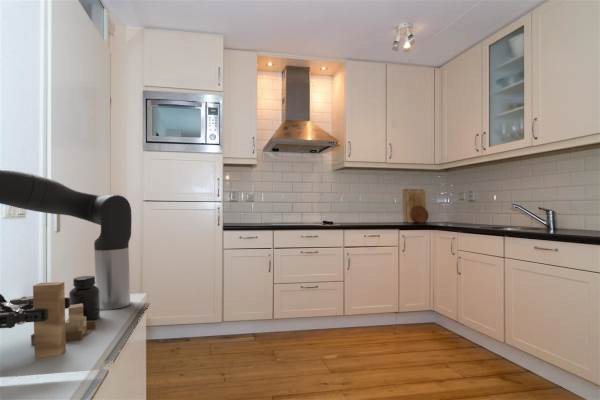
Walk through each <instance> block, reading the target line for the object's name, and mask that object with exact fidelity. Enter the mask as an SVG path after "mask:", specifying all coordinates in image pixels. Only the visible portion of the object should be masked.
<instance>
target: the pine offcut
mask: <svg viewBox="0 0 600 400" xmlns="http://www.w3.org/2000/svg"><path fill="white" fill-rule="evenodd" d="M68 331H82V332H83V334H84V333H86V332H87V328H86V317H84V320H79V321H73V322H69V318H68V319H67V320H66V319H65V332H68Z"/></svg>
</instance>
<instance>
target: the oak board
mask: <svg viewBox="0 0 600 400" xmlns="http://www.w3.org/2000/svg"><path fill="white" fill-rule="evenodd" d="M65 294H66V293H65V281H56V282H55V281H54V282H39V283H37V284H34V285H32V295H33V307H34V309H48V319H47V320H46V321H42V322H33V334H34V345H33V346H34V358H35V359H36V358H49V357H60V356H61V355H62V354H63V355H64V353H65V352H66V351H67V346H66V344H67V343H66V342H67V341H66V336H65V321H66V309H65V296H66V295H65Z"/></svg>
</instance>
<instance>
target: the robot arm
mask: <svg viewBox="0 0 600 400" xmlns="http://www.w3.org/2000/svg"><path fill="white" fill-rule="evenodd" d="M0 204H1V205H4V206H10V207H13V208H18V209H22V210H28V211H33V212H39V213H45V214H52V215H53V214H54V215H62V216H69V217H74V218H76V219H80V220H84V221H87V222H90V223H92V224H95V225H99V226H100V233H99V236H98V238H96V239H95V240H94V243H93V245H94V246H93V248H94V273H95V274H94V275H95V276H94V277H95V284H94V286H96V287H98V289H99V295H100V311H102V310H103V311H105V310H106V311H109V310H118V309H120V308H125V307H127V306H130V305H131V290H130V289H131V287H130V285H131V281H130V280H131V279H130V257H129V256H130V255H129V254H130V253H129V243H130V239H131V236H132V206H131V204H130V202H129V200H128V199H127V198H126V197H125V196H123V195H119V194H107V195H105V194H104V195H98V194H91V193H86V192H81V191H77V190H74V189H73V188H70V187H68V186H66V185H64V184H62V183H61V182H58V181H56V180H54V179H51V178H49V177H46V176H43V175H38V174H34V173H30V172H26V171H22V170H15V169H7V168H6V169H5V168H3V169H2V168H0ZM69 307H70V298H69V296H68V297H65V310H66V309H68V308H69ZM47 319H48V309H34V307H33V296H22V297H19V298H18V297H17V298H13V299H9V301H7V300H6V299H5V296H3V295H2V293H0V329H13V328H15V326H16V325H19V326H21V325H23V324H25V323H26V324H27V323H34V322H42V321H46V320H47Z"/></svg>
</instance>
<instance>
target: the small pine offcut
mask: <svg viewBox="0 0 600 400" xmlns="http://www.w3.org/2000/svg"><path fill="white" fill-rule="evenodd" d="M67 309H68V319H69V322H73V321H79V320H84V317H83V303H82V304H76V305H70V307H69V308H67Z"/></svg>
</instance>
